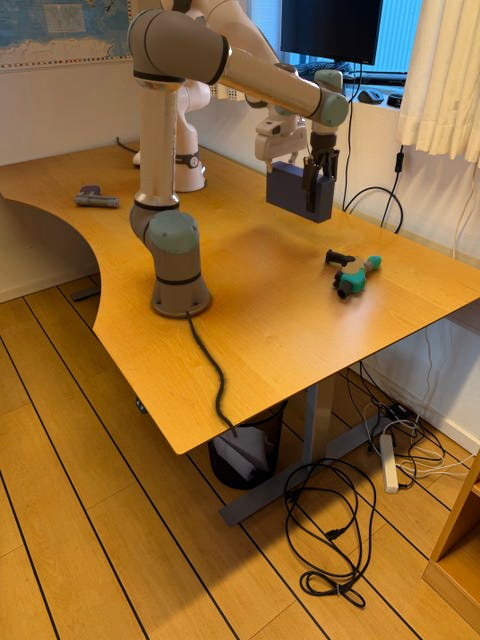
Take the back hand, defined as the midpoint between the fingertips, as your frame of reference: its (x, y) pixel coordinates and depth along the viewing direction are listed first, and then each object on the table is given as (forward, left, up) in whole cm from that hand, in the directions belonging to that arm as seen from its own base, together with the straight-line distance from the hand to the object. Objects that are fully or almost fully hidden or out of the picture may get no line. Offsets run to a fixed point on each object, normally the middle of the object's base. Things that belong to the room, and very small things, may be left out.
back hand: (281, 168), depth 154 cm
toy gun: (-62, -34, -19) cm, 73 cm away
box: (+8, -1, -12) cm, 14 cm away
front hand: (+16, -1, -9) cm, 18 cm away
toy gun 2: (+38, -15, -19) cm, 45 cm away
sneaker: (-90, +10, -19) cm, 93 cm away
